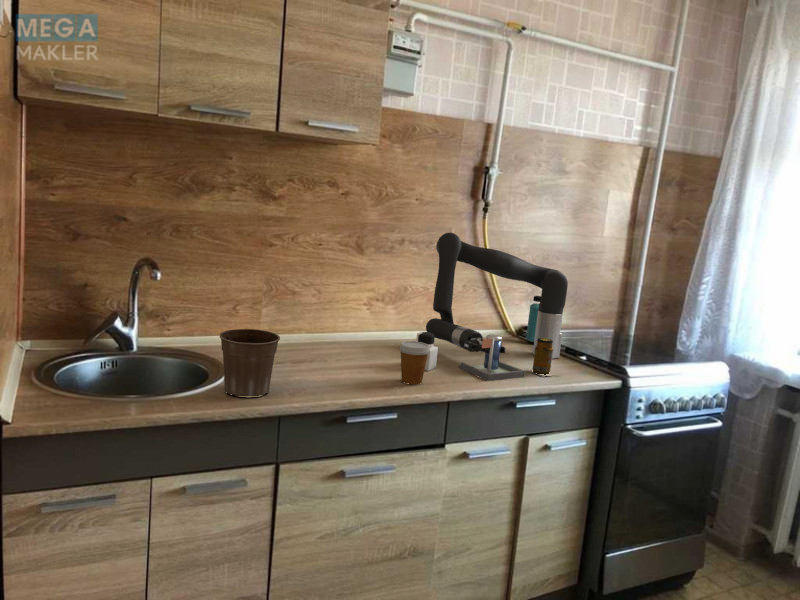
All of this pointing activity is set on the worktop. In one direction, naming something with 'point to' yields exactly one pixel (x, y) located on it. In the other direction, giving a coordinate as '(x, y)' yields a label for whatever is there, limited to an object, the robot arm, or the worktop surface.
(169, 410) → the worktop surface
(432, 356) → the medicine bottle
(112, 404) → the worktop surface
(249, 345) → the plant pot
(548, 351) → the condiment
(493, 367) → the navy canister
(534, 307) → the beverage bottle
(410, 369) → the disposable coffee cup
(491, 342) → the green tray
